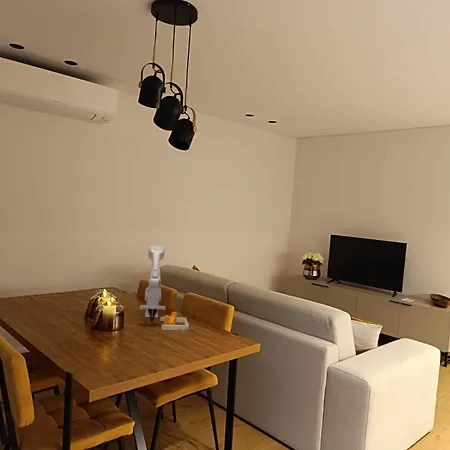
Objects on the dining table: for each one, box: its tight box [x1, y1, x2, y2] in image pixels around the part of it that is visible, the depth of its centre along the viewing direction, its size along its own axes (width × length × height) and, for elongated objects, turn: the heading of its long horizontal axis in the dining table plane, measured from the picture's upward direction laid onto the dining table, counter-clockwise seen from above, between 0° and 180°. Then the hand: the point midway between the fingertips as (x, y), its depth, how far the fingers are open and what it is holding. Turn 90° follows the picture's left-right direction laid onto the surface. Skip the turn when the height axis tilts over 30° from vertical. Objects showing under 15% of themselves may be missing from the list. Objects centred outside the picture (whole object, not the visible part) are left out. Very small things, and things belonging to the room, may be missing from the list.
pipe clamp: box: [163, 311, 178, 325], centre depth 252 cm, size 12×4×6 cm, turn 163°
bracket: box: [159, 316, 190, 331], centre depth 251 cm, size 17×15×2 cm
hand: (151, 321), depth 248 cm, fingers closed
